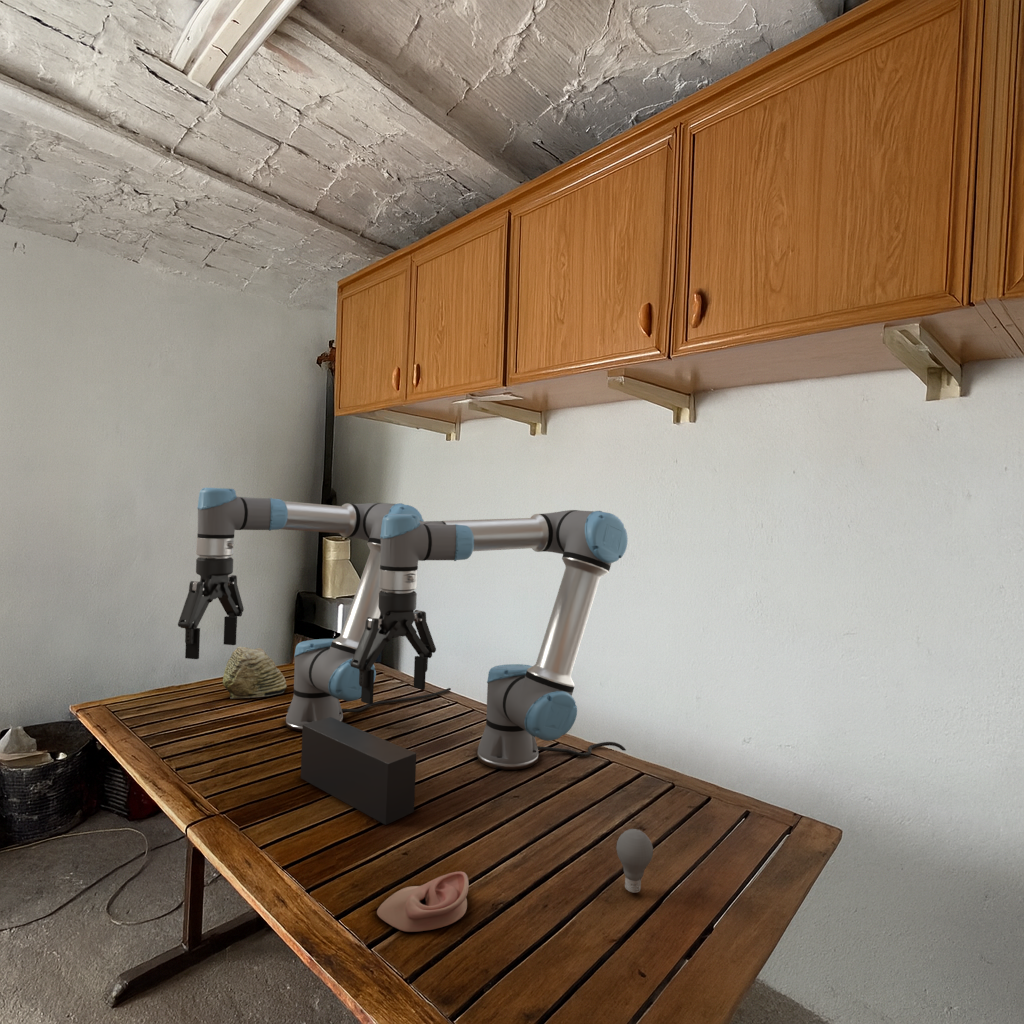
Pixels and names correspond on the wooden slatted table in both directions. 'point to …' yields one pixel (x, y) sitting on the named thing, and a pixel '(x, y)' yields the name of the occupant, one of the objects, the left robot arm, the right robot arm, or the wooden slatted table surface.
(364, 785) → the box
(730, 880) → the wooden slatted table surface
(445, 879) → the anatomical model
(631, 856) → the light bulb
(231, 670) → the fossil
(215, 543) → the left robot arm
